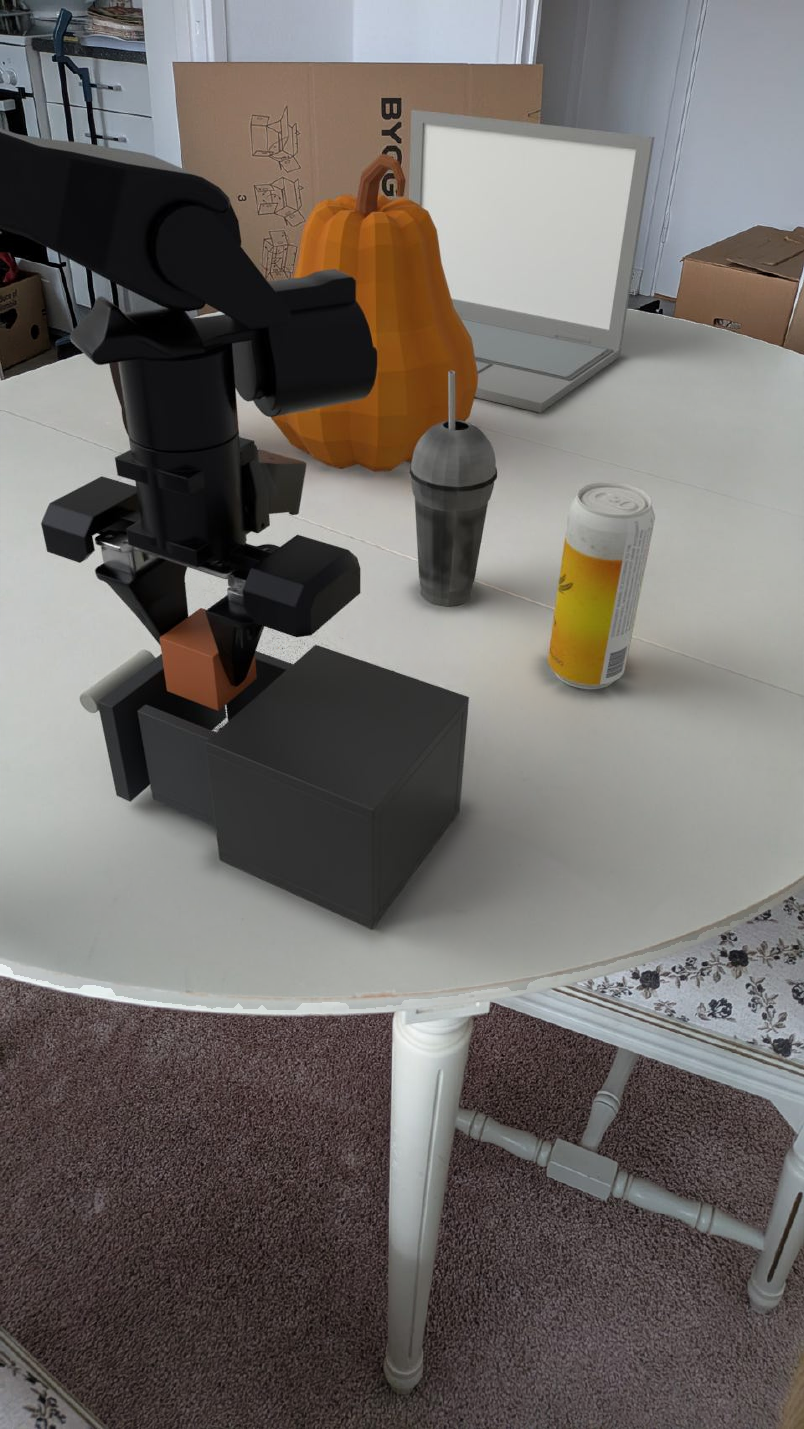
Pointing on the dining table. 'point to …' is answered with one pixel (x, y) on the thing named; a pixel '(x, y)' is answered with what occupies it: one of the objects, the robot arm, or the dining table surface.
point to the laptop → (533, 244)
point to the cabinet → (338, 781)
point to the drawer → (164, 731)
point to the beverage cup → (451, 504)
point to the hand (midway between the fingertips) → (210, 672)
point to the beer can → (600, 583)
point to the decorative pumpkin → (386, 327)
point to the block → (198, 664)
